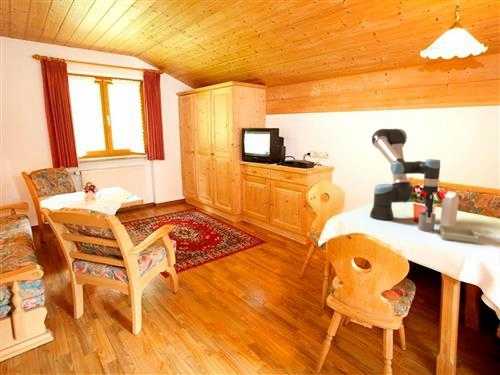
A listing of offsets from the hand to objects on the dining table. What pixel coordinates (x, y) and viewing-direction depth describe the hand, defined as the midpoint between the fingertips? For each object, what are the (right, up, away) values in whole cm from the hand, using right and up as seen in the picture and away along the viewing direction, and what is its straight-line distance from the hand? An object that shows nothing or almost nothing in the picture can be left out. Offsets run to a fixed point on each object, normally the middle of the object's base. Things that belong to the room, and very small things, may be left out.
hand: (427, 219), depth 179 cm
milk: (+19, -5, +10) cm, 22 cm away
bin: (+10, -9, -11) cm, 17 cm away
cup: (0, -6, +2) cm, 7 cm away
